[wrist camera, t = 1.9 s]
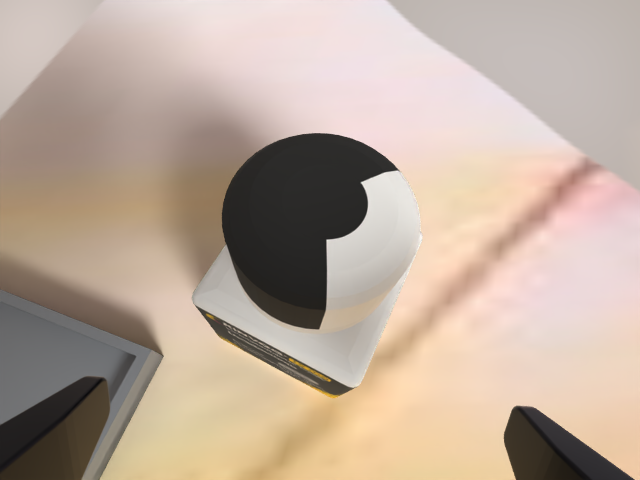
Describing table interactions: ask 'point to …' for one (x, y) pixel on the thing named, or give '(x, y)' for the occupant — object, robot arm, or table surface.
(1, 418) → the tray
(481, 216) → the table surface
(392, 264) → the medicine bottle
